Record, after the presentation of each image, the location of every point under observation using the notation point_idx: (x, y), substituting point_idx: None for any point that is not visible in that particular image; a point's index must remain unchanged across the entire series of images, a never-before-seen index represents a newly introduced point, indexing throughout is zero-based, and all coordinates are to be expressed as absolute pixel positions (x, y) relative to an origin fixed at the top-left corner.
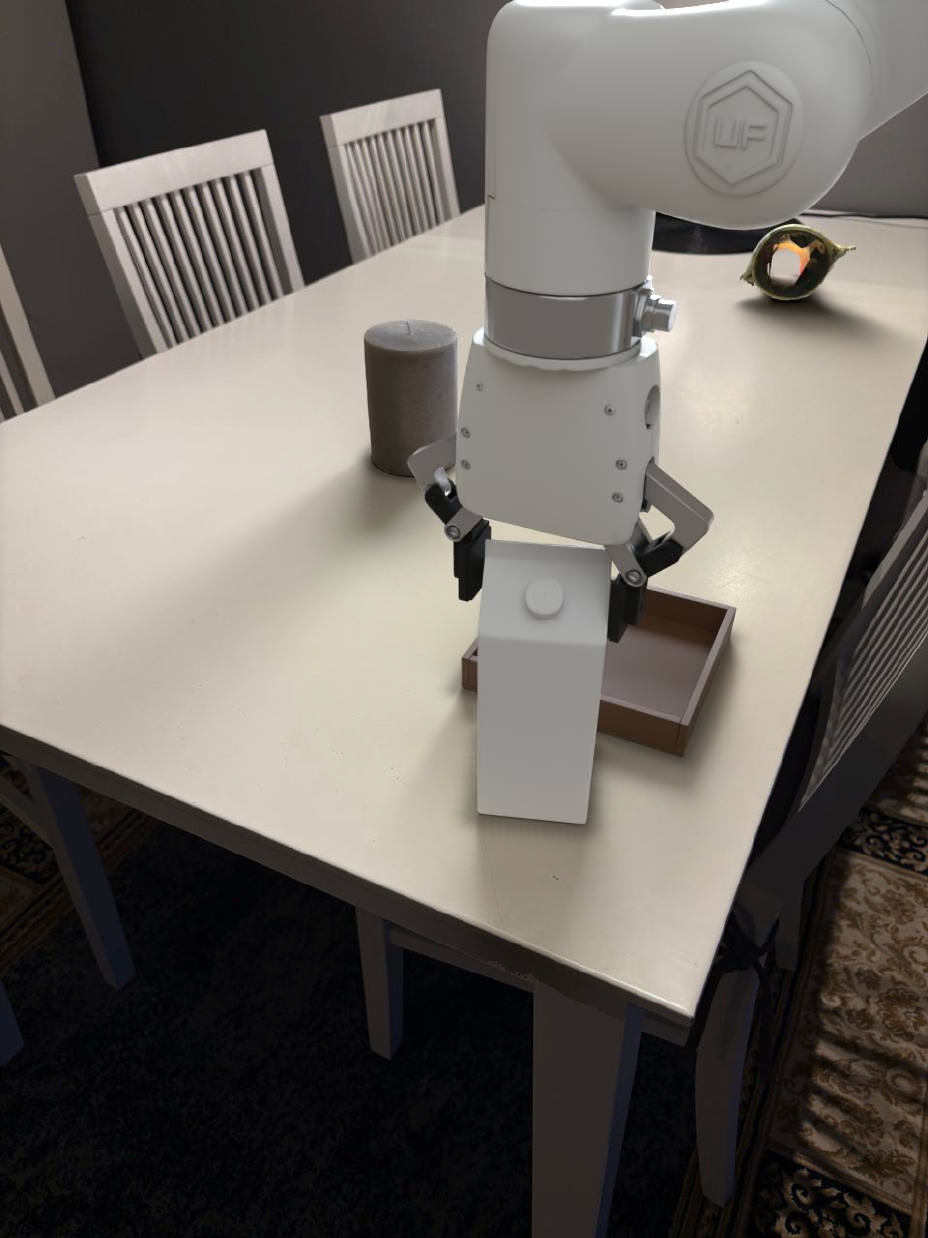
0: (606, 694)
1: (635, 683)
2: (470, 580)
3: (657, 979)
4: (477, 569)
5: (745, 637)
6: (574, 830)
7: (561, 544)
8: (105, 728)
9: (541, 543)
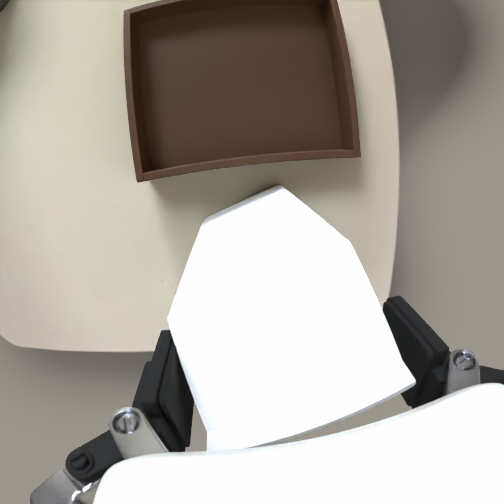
0: (266, 119)
1: (283, 93)
2: (192, 405)
3: None
4: (186, 393)
5: None
6: None
7: (331, 421)
8: (33, 332)
9: (296, 433)
